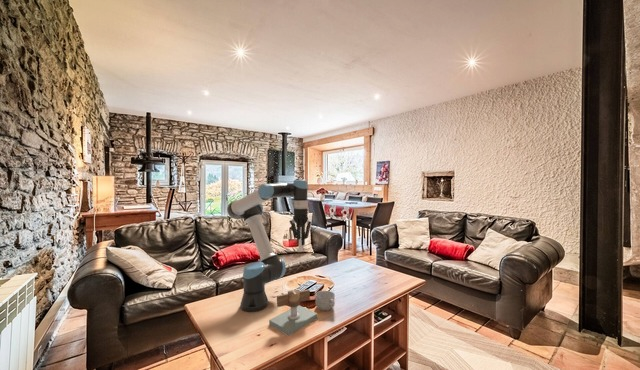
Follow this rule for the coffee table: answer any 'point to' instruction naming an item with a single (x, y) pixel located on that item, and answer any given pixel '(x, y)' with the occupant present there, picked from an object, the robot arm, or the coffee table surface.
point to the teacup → (324, 300)
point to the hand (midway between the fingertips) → (301, 251)
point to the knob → (293, 298)
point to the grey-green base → (293, 319)
